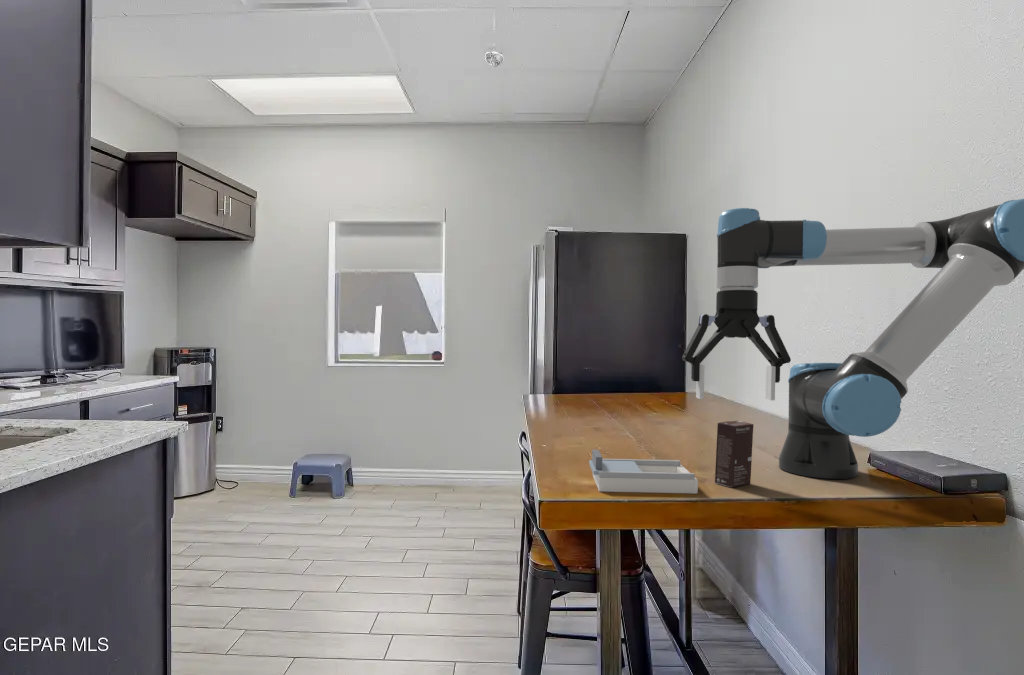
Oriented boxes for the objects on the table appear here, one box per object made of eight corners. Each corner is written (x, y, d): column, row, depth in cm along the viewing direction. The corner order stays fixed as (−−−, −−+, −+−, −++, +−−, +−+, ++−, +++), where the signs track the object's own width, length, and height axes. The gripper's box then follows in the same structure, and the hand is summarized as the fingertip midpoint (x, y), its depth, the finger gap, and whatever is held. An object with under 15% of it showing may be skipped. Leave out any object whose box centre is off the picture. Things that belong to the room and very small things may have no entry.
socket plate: (681, 477, 120) (681, 459, 120) (697, 493, 108) (697, 474, 108) (592, 475, 121) (592, 458, 121) (599, 491, 109) (599, 472, 109)
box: (733, 488, 112) (735, 425, 112) (714, 483, 116) (715, 422, 115) (753, 484, 115) (754, 423, 115) (733, 479, 119) (734, 419, 119)
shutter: (633, 464, 119) (634, 449, 119) (641, 475, 110) (642, 459, 110) (589, 463, 119) (589, 448, 119) (593, 474, 110) (593, 458, 110)
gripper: (793, 291, 118) (791, 397, 118) (668, 290, 119) (666, 395, 119) (811, 289, 110) (808, 402, 111) (677, 287, 111) (675, 400, 112)
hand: (734, 399), depth 115 cm, fingers open, 13 cm apart
